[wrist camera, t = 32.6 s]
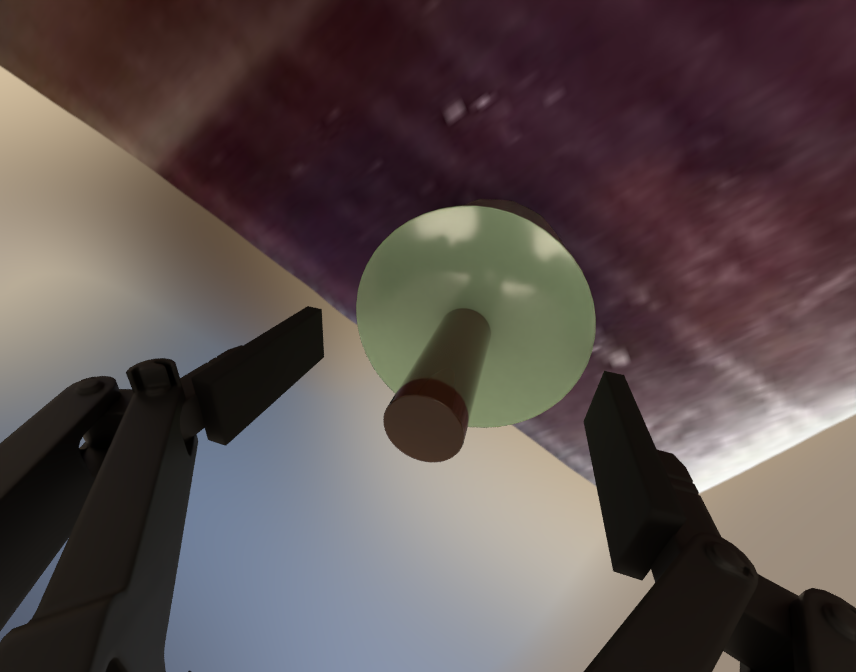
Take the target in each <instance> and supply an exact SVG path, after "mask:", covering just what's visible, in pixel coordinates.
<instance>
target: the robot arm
mask: <svg viewBox="0 0 856 672" xmlns="http://www.w3.org/2000/svg"><path fill="white" fill-rule="evenodd" d="M322 329H323V328H322V310H321V309H318V308H313V307H309V306H308V307H306V308H304V309H302V310H301V311H299V312H298V313H296V314H294V315H293V316H291V317H289V318H288V319H286V320H285V321H283V322H281V323H280V324H278V325H276V326H275V327H273V328H271V329H270V330H268V331H267V332H265V333H263V334H262V335H260V336H259V337H257V338H255V339H254V340H252V341H250V342H249V343H247V344H245V345H244V346H242V345H241V346H238V347H235V348H232V349H229V350H227V351H225V352H224V353H222V354H221V355H219V356H217V358H213V359H212V360H210V361H209V362H208V363H205V364H204V365H202V366H200V367H198V368H197V369H195V370H193V371H192V372H190V373H188V374H187V375H185V376H183V377H182V378H180V377H179V373H178V370H177V367H176V364H175V362H174V361H173V360H170V359H165V358H160V359H151V360H147V361H143V362H140V363H138V364H136V365H134V366H132V367H130V368H129V370H127V372H126V374H127V377H128V379H129V381H130V384H131V387H132V390H131V389H119V388H118V385H117V383H116V380H115V379H114V378H112V377H108V376H99V377H91V378H86V379H83V380H81V381H79V382H76V383H74V384H72V385H71V386H69V387H67V388H66V389H65V390H64V391H62V392H61V393H60V394H59V395H58V396H56V397H55V398H54V399H53V400H52V401H50V402H49V403H48V404H47V405H46V406H44V407H43V408H42V409H41V410H40V411H38V412H37V413H36V414H35V415H34V416H32V417H31V418H30V419H29V420H28V421H27V422H25V423H24V424H23V425H22V426H20V427H19V428H18V429H17V430H16V431H15V432H13V433H12V434H11V435H10V436H9V437H7V438H6V439H5V440H4V441H3V442H1V443H0V631H1V630H2V628H3V627H4V625H5V624H6V623H7V621H8V620H9V619H10V617H11V616H12V615H13V613H14V612H15V610H16V608H18V606H19V605H20V604H21V602H22V601H23V599H24V598H25V597H26V595H27V594H28V592H29V591H30V590H31V589H32V587H33V586H34V584H35V583H36V582H37V580H38V579H39V577H40V576H41V575H42V573H43V572H44V571H45V569H46V568H47V567H48V565H49V564H50V563H51V561H52V560H53V558H54V557H55V556H56V554H57V553H58V552H59V550H60V549H61V548H62V546H63V545H64V543H65V542H66V541H67V539H68V538H69V539H68V541H67V543H66V546H65V548H64V550H63V552H62V555H61V557H60V559H59V561H58V564H57V566H56V568H55V570H54V573H53V575H52V577H51V579H50V582H49V584H48V586H47V588H46V591H45V593H44V595H43V597H42V600H41V602H40V604H39V606H38V608H37V611H36V612H35V614H34V616H33V618H32V619H31V620H30V621H29V622H28V623H27V624H25V625H22V626H19V627H16V628H14V629H12V630H11V631H10V632H9V633H8V634H7V635H6V636H4V637H3V639H2V640H1V642H0V672H166V671H165V662H164V647H165V640H166V633H167V627H168V622H169V615H170V609H171V603H172V597H173V591H174V585H175V579H176V573H177V567H178V561H179V555H180V549H181V543H182V537H183V530H184V524H185V518H186V512H187V506H188V500H189V494H190V488H191V482H192V476H193V470H194V464H195V457H196V452H197V445H198V438H197V435H196V434H197V433H198V432H200V431H201V430H202V429H203V428H205V430H206V434H207V437H208V440H210V441H213V442H216V443H219V444H222V445H227V444H228V443H229V442H230V441H232V440H233V439H234V438H235V437H236V436H237V435H238V434H239V433H240V432H241V431H242V430H244V429H245V428H246V427H247V426H248V425H249V424H250V423H251V422H253V420H255V419H256V418H257V417H258V416H259V415H260V414H261V413H262V412H264V411H265V410H266V409H267V408H268V407H269V406H270V405H271V404H272V403H274V402H275V401H276V400H277V399H278V398H279V397H280V396H281V395H282V394H283V393H285V392H286V391H287V390H288V389H289V388H290V387H291V386H292V385H294V384H295V383H296V382H297V381H298V380H299V379H300V378H301V377H302V376H303V375H305V374H306V373H307V372H308V371H309V370H310V369H311V368H312V367H313V366H314V365H316V364H317V363H318V362H319V361H320V360H321V359H322V358H323V357H324V347H323V330H322ZM584 426H585V431H586V436H587V441H588V446H589V451H590V456H591V461H592V466H593V471H594V476H595V481H596V486H597V491H598V496H599V501H600V506H601V511H602V517H603V522H604V527H605V532H606V537H607V542H608V547H609V552H610V557H611V562H612V567H613V571H614V572H617V573H620V574H623V575H627V576H630V577H633V578H636V579H639V580H643V579H644V578H645V576H646V575H647V573H648V572H649V571H650V569H651V570H652V573H653V577H654V580H655V584H654V585H653V587H652V588H651V589H650V590H649V591H648V593H647V594H646V595H645V596H644V597H643V599H642V600H641V601H640V602H639V604H638V605H637V606H636V607H635V609H634V610H633V611H632V612H631V614H630V615H629V616H628V617H627V619H626V620H625V621H624V622H623V624H622V625H621V626H620V627H619V628H618V630H617V631H616V632H615V633H614V635H613V636H612V637H611V639H610V640H609V641H608V642H607V643H606V645H605V646H604V647H603V648H602V650H601V651H600V652H599V653H598V655H597V656H596V657H595V658H594V659H593V661H592V662H591V663H590V664H589V666H588V667H587V668H586V670H585V671H584V672H712V671H713V669H714V667H715V665H716V663H717V661H718V660H719V658H720V656H721V654H722V652H723V651H724V652H726V653H727V654H729V655H730V656H732V657H734V658H735V659H737V660H738V661H740V672H856V608H855V607H853V606H852V605H850V604H849V603H847V602H846V601H844V600H843V599H841V598H840V597H838V596H836V595H833V594H831V593H829V592H827V591H825V590H820V589H815V588H811V589H808V590H805V591H804V592H803V593H802V594H801V595H799V596H798V595H796V594H794V593H792V592H790V591H788V590H786V589H784V588H783V587H781V586H779V585H777V584H775V583H773V582H772V581H770V580H768V579H766V578H764V577H762V576H761V575H759V574H757V572H756V570H755V567H754V565H753V564H752V563H751V562H750V560H749V559H748V558H747V557H746V555H745V554H744V553H743V552H741V551H740V550H739V549H738V548H737V547H736V546H734V545H733V544H732V543H730V542H728V541H727V540H725V539H724V538H722V537H721V535H720V534H719V532H718V530H717V528H716V526H715V524H714V522H713V520H712V518H711V516H710V514H709V512H708V510H707V508H706V506H705V504H704V502H703V500H702V498H701V496H700V495H698V493H699V492H698V490H697V488H696V486H695V484H693V480H692V478H691V477H690V475H689V473H688V471H687V469H686V467H685V466H684V465H683V464H682V463H681V462H680V461H679V460H678V459H677V458H676V456H675V455H674V454H672V453H668V452H664V451H660V450H657V449H656V447H655V445H654V443H653V440H652V438H651V436H650V433H649V431H648V429H647V427H646V424H645V422H644V420H643V417H642V415H641V413H640V411H639V408H638V406H637V404H636V401H635V399H634V397H633V395H632V392H631V390H630V388H629V385H628V383H627V381H626V379H625V376H624V375H621V374H616V373H612V372H607V371H604V373H603V375H602V378H601V380H600V383H599V385H598V388H597V390H596V392H595V395H594V397H593V400H592V402H591V405H590V407H589V410H588V412H587V414H586V417H585V419H584ZM82 437H83V438H84V440H85V441H86V442H85V443H84V444H83V445H82V446H81V447H80V448H79V444H80V440H81V439H82ZM188 672H191V671H188Z"/></svg>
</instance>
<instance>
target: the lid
mask: <svg viewBox="0 0 856 672" xmlns="http://www.w3.org/2000/svg"><path fill="white" fill-rule="evenodd" d="M356 309H357V324H358V330H359V335H360V338H361V342H362V345H363V347H364V350H365V352H366V355H367V357H368V359H369V361H370V362H371V364H372V366H373V368H374V369H375V370H376V372H377V374H378V375H379V376H380V378H381V379H382V380H383V381H384V382H385V384H386V385H387V386H388V387H389V388H390V389H391V390H392V391H393V392H394V393H395V396H394V397H393V399H392V400H391V402H390V404H389V405H388V407H387V408H386V411H385V413H384V427H385V431H386V434H387V436H388V438H389V439H390V441H391V442H392V443H393V444H394V445H395V446H396V447H397V448H398V449H399V450H400V451H401V452H403V453H404V454H406V455H408V456H410V457H412V458H414V459H417V460H420V461H425V462H441V461H445V460H448V459H450V458H452V457H453V456H454V455H456V454H457V453H458V452H459V451H460V449H461V447H462V445H463V443H464V439H465V435H466V431H467V427H481V428H487V427H500V426H506V425H512V424H515V423H519V422H522V421H525V420H528V419H530V418H533V417H535V416H537V415H539V414H541V413H543V412H544V411H546V410H548V409H549V408H551V407H552V406H553V405H555V404H556V403H557V402H559V401H560V400H561V399H562V398H563V397H564V396H565V395H566V394H567V393H568V392H569V391H570V390H571V389H572V388H573V386H574V385H575V384H576V382H577V381H578V380H579V378H580V377H581V375H582V373H583V371H584V369H585V368H586V366H587V364H588V361H589V358H590V355H591V352H592V349H593V344H594V339H595V326H596V317H595V309H594V302H593V299H592V295H591V292H590V288H589V285H588V283H587V281H586V279H585V277H584V275H583V272H582V270H581V268H580V267H579V265H578V264H577V262H576V261H575V259H574V258H573V256H572V255H571V253H570V252H569V251H568V250H567V249H566V248H565V247H564V245H563V244H562V243H561V242H560V241H559V240H558V239H557V238H556V237H554V236H553V235H552V234H551V233H549V232H548V231H547V230H546V229H545V228H543V227H541V226H540V225H538V224H536V223H535V222H533V221H531V220H530V219H528V218H525V217H523V216H521V215H518V214H516V213H514V212H511V211H507V210H504V209H500V208H496V207H490V206H482V205H457V206H451V207H445V208H440V209H437V210H434V211H431V212H427V213H425V214H422V215H420V216H418V217H416V218H414V219H412V220H410V221H408V222H406V223H405V224H403V225H402V226H400V227H399V228H397V229H396V230H395V231H394V232H393V233H391V234H390V235H389V236H388V237H387V238H386V239H385V240H384V241H383V242H382V243H381V245H380V246H379V247H378V248H377V249H376V251H375V252H374V254H373V255H372V257H371V258H370V260H369V262H368V263H367V266H366V268H365V270H364V273H363V275H362V278H361V281H360V285H359V289H358V295H357V303H356Z"/></svg>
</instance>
